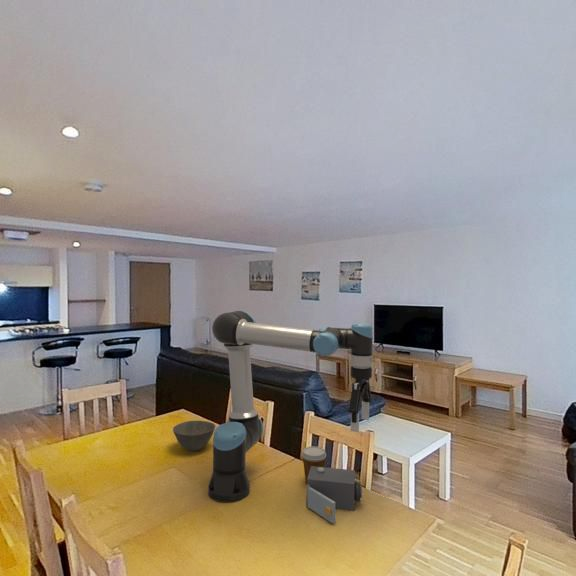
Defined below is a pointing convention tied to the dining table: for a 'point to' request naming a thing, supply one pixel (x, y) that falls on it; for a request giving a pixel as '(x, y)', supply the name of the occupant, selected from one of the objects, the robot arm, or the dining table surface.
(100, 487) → the dining table surface
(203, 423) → the bowl
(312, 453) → the disposable coffee cup
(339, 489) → the camera block
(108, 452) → the dining table surface
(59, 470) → the dining table surface
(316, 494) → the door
